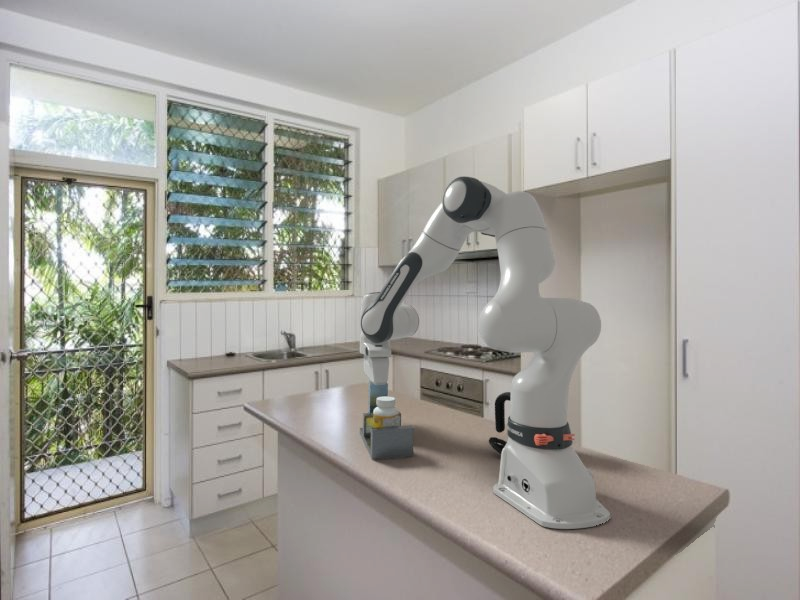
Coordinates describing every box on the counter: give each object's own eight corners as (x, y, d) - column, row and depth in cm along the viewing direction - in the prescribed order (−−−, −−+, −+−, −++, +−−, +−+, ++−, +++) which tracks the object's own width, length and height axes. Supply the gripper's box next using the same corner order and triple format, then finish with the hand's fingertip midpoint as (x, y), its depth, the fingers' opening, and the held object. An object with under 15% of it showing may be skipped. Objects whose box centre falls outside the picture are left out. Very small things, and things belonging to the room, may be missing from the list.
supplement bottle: (400, 446, 111) (401, 400, 110) (376, 448, 109) (376, 402, 109) (394, 438, 117) (394, 394, 116) (370, 440, 115) (370, 396, 115)
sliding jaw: (401, 434, 120) (402, 388, 119) (364, 436, 117) (364, 389, 117) (394, 424, 128) (394, 381, 128) (359, 426, 126) (359, 382, 125)
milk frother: (547, 444, 119) (548, 388, 118) (548, 466, 104) (550, 402, 103) (493, 438, 123) (494, 384, 123) (486, 458, 108) (487, 397, 108)
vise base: (413, 456, 108) (413, 428, 108) (372, 459, 106) (372, 430, 105) (394, 431, 127) (394, 406, 127) (359, 433, 125) (359, 408, 125)
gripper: (359, 343, 141) (358, 386, 141) (369, 352, 121) (369, 403, 121) (378, 342, 142) (378, 386, 143) (392, 351, 122) (392, 402, 123)
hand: (374, 394), depth 132 cm, fingers closed
